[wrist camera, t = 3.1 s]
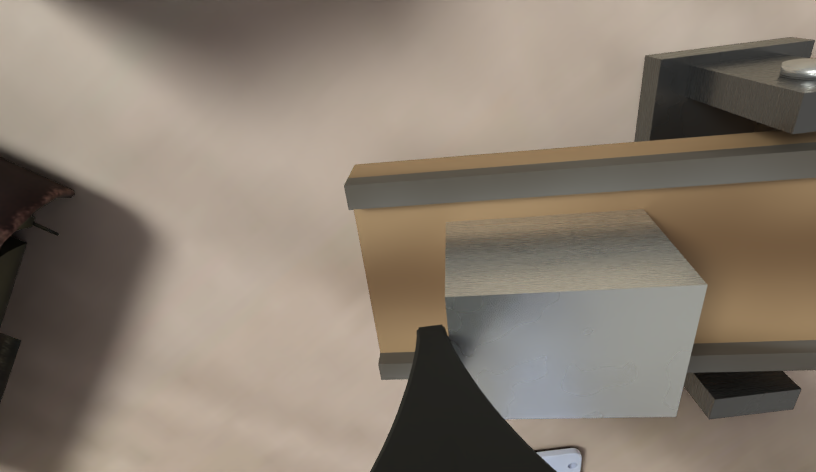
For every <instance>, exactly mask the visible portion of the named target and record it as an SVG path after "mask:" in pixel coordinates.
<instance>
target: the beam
mask: <svg viewBox="0 0 816 472" xmlns="http://www.w3.org/2000/svg"><path fill="white" fill-rule="evenodd" d="M344 188H345V193H346V198H347V203H348V209H349V210H354V213H355V219H356V224H357V229H358V235H359V240H360V245H361V251H362V256H363V262H364V267H365V272H366V278H367V283H368V288H369V294H370V299H371V304H372V310H373V315H374V321H375V326H376V331H377V337H378V342H379V347H380V358H379V364H378V365H379V370H380V375H381V380H391V379H409V375H410V371H411V368H412V364H413V359H414V354H415V348H416V339H417V330H418V329H419V328H418V327H425V326H433V325H441V324H442V326H443V327H445V329H446V332H447V335H448V325H447V314H446V303H445V249H446V222H455V221H470V220H485V219H500V218H515V217H530V216H546V215H561V214H576V213H591V212H606V211H622V210H637V209H643V210H644V211H645V212H646V213H647V214H648V215H649V217H650V218H651V219H652V220H653V221H654V222H655V224H656V225H657V226H658V227H659V228H660V230H661V231H662V232H663V233H664V234H665V235H666V237H667V238H668V239H669V240H670V241H671V242H672V244H673V245H674V246H675V247H676V248H677V250H678V251H679V252H680V253H681V254H682V255H683V257H684V258H685V259H686V260H687V261H688V262H689V264H690V265H691V266H692V267H693V268H694V270H695V271H696V272H697V273H698V274H699V275H700V277H701V278H702V279H703V280H704V281H705V282H706V284H707V289H706V294H705V298H704V302H703V306H702V310H701V315H700V319H699V323H698V327H697V331H696V336H695V340H694V344H693V348H692V352H691V357H690V361H689V365H688V369H687V373H704V372H748V371H793V370H816V131H815V132H807V133H799V134H790V133H787V132H784V131H782V130H777V131H765V132H752V133H740V134H728V135H715V136H703V137H691V138H678V139H666V140H654V141H641V142H629V143H617V144H604V145H592V146H580V147H567V148H555V149H543V150H530V151H518V152H506V153H494V154H481V155H469V156H457V157H444V158H432V159H420V160H407V161H395V162H383V163H370V164H358V165H355V166H354V167H353V169H352V171H351V173H350V175H349V177H348V179H347V181H346V183H345V185H344ZM448 337H449V335H448Z"/></svg>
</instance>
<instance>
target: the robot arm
mask: <svg viewBox="0 0 816 472" xmlns="http://www.w3.org/2000/svg"><path fill="white" fill-rule="evenodd" d="M418 328H419V329H418V330H417V339H416V348H415V354H414V359H413V364H412V368H411V371H410V375H409V379H408V383H407V386H406V389H405V392H404V395H403V398H402V401H401V404H400V407H399V410H398V412H397V415H396V418H395V420H394V423H393V425H392V427H391V430H390V432H389V434H388V437H387V439H386V441H385V443H384V445H383V448H382V450H381V452H380V454H379V456H378V458H377V459H376V461H375V463H374V465H373V467H372V469H371V471H370V472H580V471H581V462H582V456H581V453H580V451H579V450H578V449H576V448H566V449H558V450H550V451H542V452H535V451H534V450H533V449H532V448H531V447H530V446H529V445H528V444H527V443H526V442H525V441H524V440H523V439H522V438H521V437H520V436H519V435H518V434H517V433H516V432H515V431H514V429H513V428H512V427H511V426H510V425H509V424H508V423H507V422H506V421H505V419H504V418H503V417H502V416H501V415H500V414H499V412H498V411H497V410H496V409H495V408H494V406H493V405H492V404H491V403H490V401H489V400H488V399H487V397H486V396H485V395H484V393H483V392H482V391H481V389H480V388H479V387H478V385H477V384H476V383H475V381H474V380H473V378H472V377H471V375H470V374H469V372H468V371H467V369H466V368H465V366H464V364H463V363H462V361H461V360H460V358H459V356H458V354H457V353H456V351H455V349H454V347H453V345H452V343H451V341H450V339H449V337H448V335H447V332H446V329H445V327H443V326H442V324H441V325H433V326H425V327H418Z"/></svg>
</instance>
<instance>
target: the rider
mask: <svg viewBox="0 0 816 472" xmlns="http://www.w3.org/2000/svg"><path fill="white" fill-rule="evenodd" d="M706 289H707V284H706V282H705V281H704V280H703V279H702V278H701V277H700V275H699V274H698V273H697V272H696V271H695V270H694V268H693V267H692V266H691V265H690V264H689V262H688V261H687V260H686V259H685V258H684V257H683V255H682V254H681V253H680V252H679V251H678V250H677V248H676V247H675V246H674V245H673V244H672V242H671V241H670V240H669V239H668V238H667V237H666V235H665V234H664V233H663V232H662V231H661V230H660V228H659V227H658V226H657V225H656V224H655V222H654V221H653V220H652V219H651V218H650V217H649V215H648V214H647V213H646V212H645V211H644V210H643V209H637V210H622V211H606V212H591V213H576V214H561V215H546V216H530V217H515V218H500V219H485V220H470V221H455V222H446V249H445V303H446V314H447V325H448V335H449V339H450V341H451V343H452V345H453V347H454V349H455V351H456V353H457V354H458V356H459V358H460V360H461V361H462V363H463V364H464V366H465V368H466V369H467V371H468V372H469V374H470V375H471V377H472V378H473V380H474V381H475V383H476V384H477V385H478V387H479V388H480V389H481V391H482V392H483V393H484V395H485V396H486V397H487V399H488V400H489V401H490V403H491V404H492V405H493V406H494V408H495V409H496V410H497V411H498V412H499V414H500V415H501V416H502V417H503V418H504V419H557V418H632V417H676V415H677V411H678V407H679V403H680V398H681V394H682V390H683V386H684V382H685V377H686V373H687V369H688V365H689V361H690V357H691V352H692V348H693V344H694V340H695V336H696V331H697V327H698V323H699V319H700V315H701V310H702V306H703V302H704V298H705V294H706Z"/></svg>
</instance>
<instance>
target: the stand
mask: <svg viewBox="0 0 816 472" xmlns="http://www.w3.org/2000/svg"><path fill="white" fill-rule="evenodd" d="M814 42H815V40H811V39H802V38H793V37H788V38H780V39H773V40H765V41H757V42H749V43H741V44H733V45H725V46H717V47H709V48H701V49H694V50H686V51H678V52H670V53H662V54H654V55H646V56H645V63H644V71H643V79H642V87H641V95H640V102H639V110H638V118H637V126H636V134H635V142H641V141H654V140H666V139H678V138H691V137H703V136H715V135H728V134H740V133H752V132H765V131H777V130H782V131H784V132H787V133H790V134H799V133H807V132H815V131H816V58H810V56H811V52H812V49H813V45H814ZM684 387H685V388H686V390H687V391H688V392H689V394H690V395H691V396H692V398H693V399H694V400H695V401H696V403H697V404H698V405H699V407H700V408H701V409H702V411H703V412H704V413H705V415H706V416H707V417H708V418H709V419H716V418H725V417H733V416H741V415H749V414H757V413H766V412H774V411H782V410H790V409H793V408H794V406H795V403H796V401H797V398H798V396H799V394H800V391H801V388H800V387H799V386H798V385H796V384H795V383H794V382H793V381H792V380H791V379H790V378H789V377H788V376H787V375H786V374H785V373H784V372H783V371H748V372H704V373H686V377H685V382H684Z"/></svg>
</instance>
